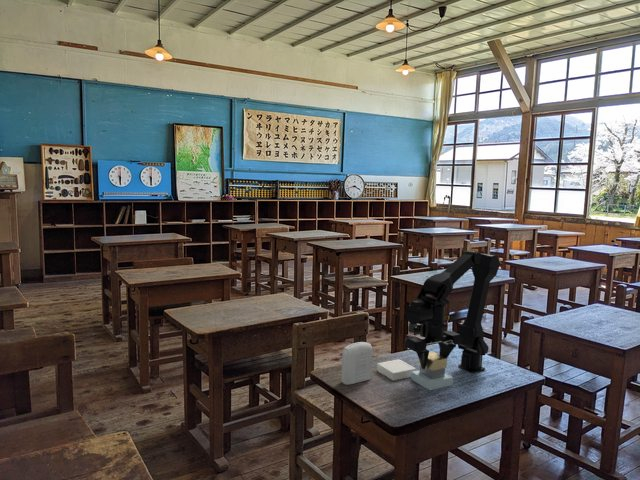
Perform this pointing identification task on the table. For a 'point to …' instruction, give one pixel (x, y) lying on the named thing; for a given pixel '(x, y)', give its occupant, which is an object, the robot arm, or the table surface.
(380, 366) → the stand
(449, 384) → the stand
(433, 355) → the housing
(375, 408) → the table surface
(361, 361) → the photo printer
